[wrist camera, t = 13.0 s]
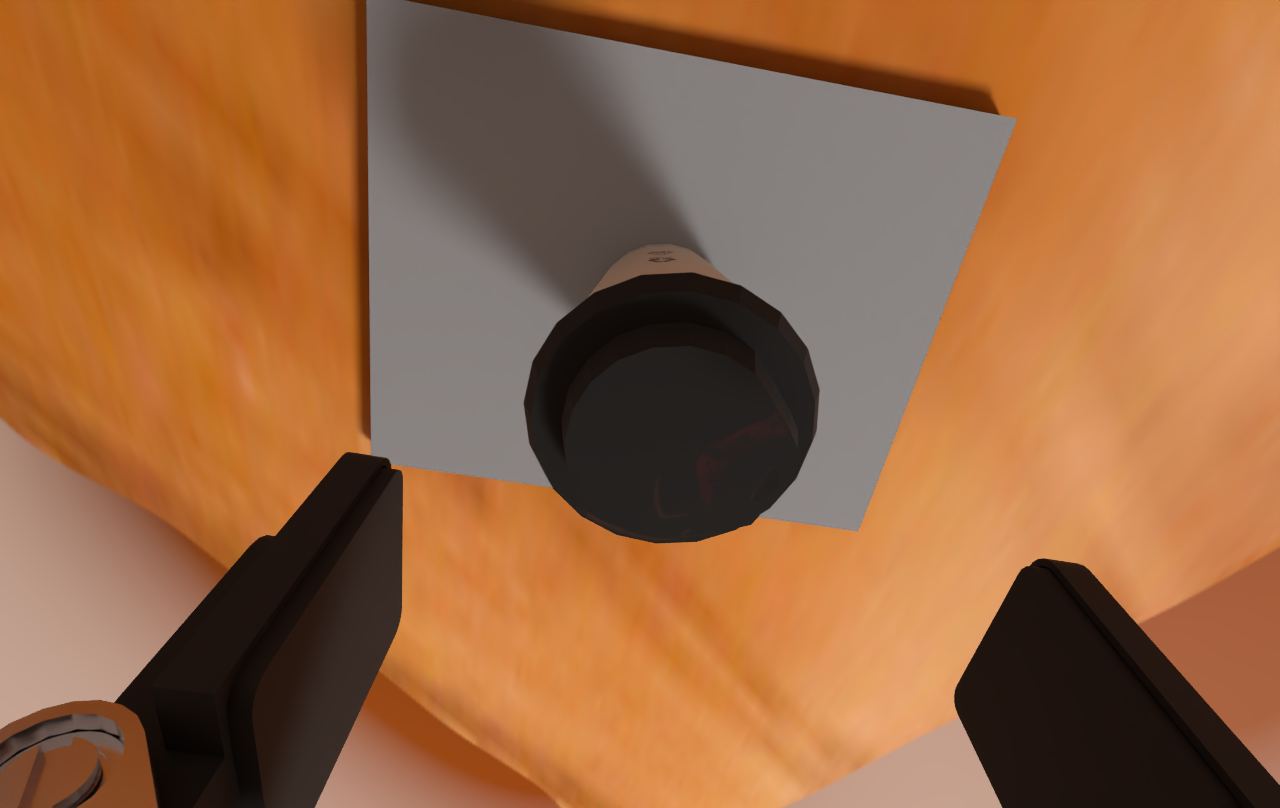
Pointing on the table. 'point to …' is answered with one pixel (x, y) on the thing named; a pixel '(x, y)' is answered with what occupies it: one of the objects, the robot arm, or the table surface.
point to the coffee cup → (671, 401)
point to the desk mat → (646, 227)
